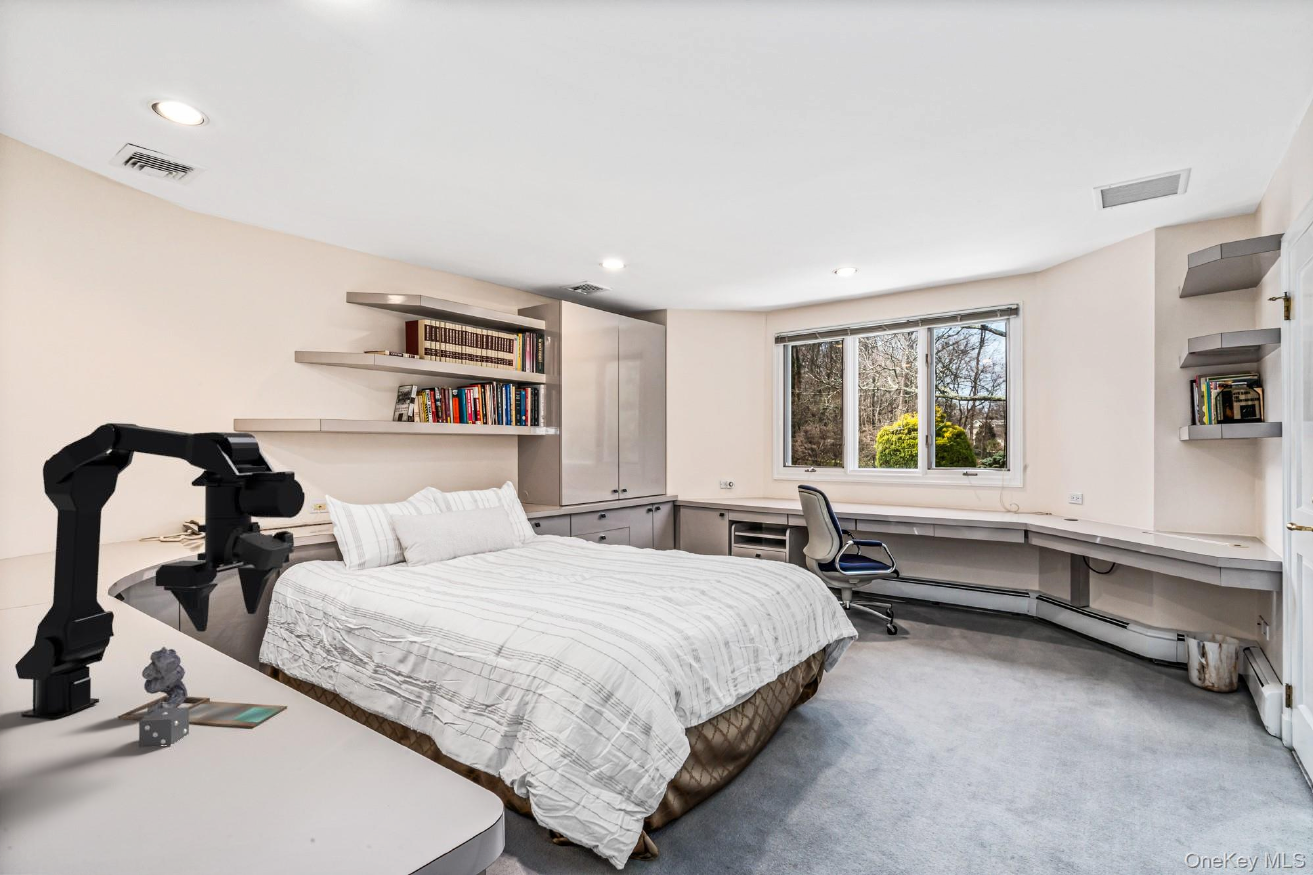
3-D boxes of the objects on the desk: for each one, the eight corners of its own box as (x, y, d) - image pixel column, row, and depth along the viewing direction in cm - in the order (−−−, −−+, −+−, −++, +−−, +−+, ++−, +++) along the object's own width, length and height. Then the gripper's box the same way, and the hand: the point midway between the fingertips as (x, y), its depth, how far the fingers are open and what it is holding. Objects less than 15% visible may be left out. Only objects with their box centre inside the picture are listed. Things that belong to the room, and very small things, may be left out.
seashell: (163, 719, 95) (163, 653, 95) (134, 716, 96) (134, 650, 96) (195, 705, 100) (195, 642, 100) (167, 702, 101) (168, 640, 102)
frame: (117, 720, 95) (117, 716, 95) (165, 698, 103) (165, 695, 103) (165, 723, 94) (165, 719, 94) (209, 701, 102) (209, 697, 102)
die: (138, 751, 86) (138, 720, 86) (158, 736, 90) (158, 707, 90) (171, 749, 86) (172, 718, 86) (190, 734, 90) (190, 705, 91)
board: (163, 721, 94) (163, 719, 94) (202, 702, 101) (202, 700, 101) (253, 727, 92) (253, 725, 92) (287, 708, 99) (287, 706, 99)
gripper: (227, 526, 84) (226, 644, 83) (320, 510, 102) (319, 607, 102) (152, 524, 85) (151, 640, 85) (257, 509, 103) (256, 605, 103)
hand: (227, 622), depth 94 cm, fingers open, 9 cm apart
